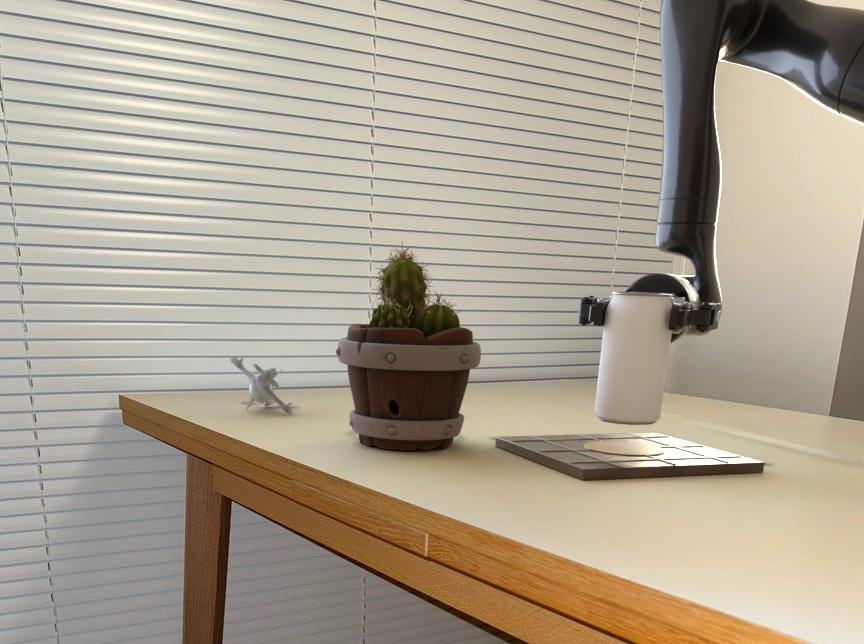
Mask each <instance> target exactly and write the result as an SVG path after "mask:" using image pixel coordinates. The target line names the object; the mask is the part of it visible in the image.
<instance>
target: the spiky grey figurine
mask: <svg viewBox="0 0 864 644" xmlns="http://www.w3.org/2000/svg"><path fill="white" fill-rule="evenodd" d="M243 360H244V356H241V358H240V359H238V358H237V357H236V356H235V355H233V356H231V357H230V363H231V364H233V365H234V367H236V369H238V370H239V371H241V372H242V373H243V374H244V375H245V376H246V377H247V378H248V380H249V382H250V383H249V387H248V395H249V396H250V399H249V401H248V402H247V404H246V408H245V409H246V410H248V409H249V408H250V407H251V406H252V405H253V403H254V402H257V403H263V406H264V407H270V406H271V405H272V404H273V403H274V402H275V403H276V404H277V405H278V406H279V407H280V409H281V411H282V412H284V413H286V414H287V415H291V414H293V413H294V409H292V408H291V407H290V406H291V405H292V404H293V402H289V403H285V402H284V401H283V400H282V399H281V398H280V397H279V396H278V395H277V394H276V393H275V388H277V389H278V388H280V384H279V383H278V382H277V380H275V379H276V378H277V377H278V376H279V374H281V372H282V369H280V370H279V371H278V372H277V368H276V367H274V366H275V362H272V364H271V365H270V366H269V368H267V369H263V368H262V367H260V366H259V365H258V364H257V363H255V362H254V363H252V366H253V368H254V369H255V370H256V372H257V373H258V374H257V375H256V374H255V373H253V372H252V371H250V370H249V369H247V368H246V366H245V365H244V364H243Z"/></svg>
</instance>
